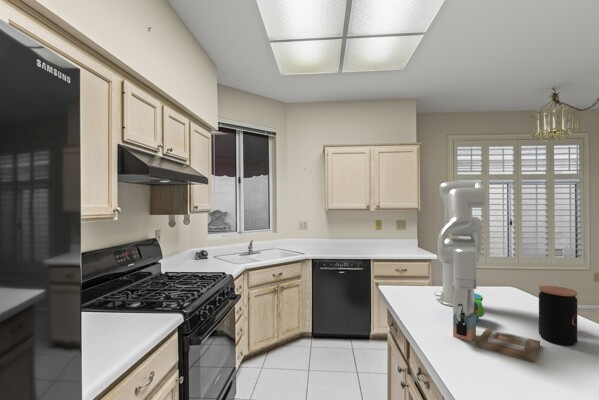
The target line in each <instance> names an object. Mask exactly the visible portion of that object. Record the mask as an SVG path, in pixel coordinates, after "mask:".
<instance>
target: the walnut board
mask: <svg viewBox="0 0 599 400" xmlns="http://www.w3.org/2000/svg"><path fill="white" fill-rule="evenodd" d="M475 347H478V348H481V349H485V350H488V351H492V352H495V353H498V354H502V355H506V356H509V357H513V358H516V359H519V360H523V361H527V362H530V363H535V362H536V359H537V356H538V353H539V350H540V348H541V340H538V339H533V338H529V337H525V336H520V335H516V334H512V333H508V332H504V331H501V330H497V329H492V328H488V327H487V328H485V330H484V331H483V332H482V333H481V335H480V336H479V337H478V338H477V339H476V341H475Z"/></svg>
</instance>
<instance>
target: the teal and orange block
mask: <svg viewBox="0 0 599 400" xmlns="http://www.w3.org/2000/svg"><path fill="white" fill-rule="evenodd" d="M452 315H453V317H452V323H453V324H452V337H453V338H457V339H461V340H464V341H468V342H473V340H474V339H475V338H476V337H477V321H476V314H472V313H471V314H470V315H469V316H468V317H466V325H467V335H466V336H462V335H458V334H457V333H456V318H457V317H456V314H453V313H452ZM461 315H465V314H461ZM461 318H463V320H464V317H461Z"/></svg>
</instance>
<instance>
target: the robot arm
mask: <svg viewBox="0 0 599 400" xmlns="http://www.w3.org/2000/svg"><path fill="white" fill-rule="evenodd" d="M438 190H439V196H440V198H441V200H442V202H443V205H444V226H443V227H442V228H441V230H440V231H439V234H438V236H437V257H438V258H437V259H438V261H440V263H442V291H436V290H434V293H433V294H434V296H435V297H439V300H438V301H439V303H441V305H444V306H448V307H452V315H453V314H456V317H457V318H456V333H457V334H458V335H462V336H466V335H467V325H466V317H468V316H469V315H470V314H471V313H472V312H473V311H474V293H475V290H476V289H477V286H478V285H477V283H478V282H477V281H478V280H477V279H478V277H477V274H478V273H477V271H478V269H477V268H478V267H477V264H478V262H479V260H480V258H481V256H482V253H483V222H482V220H481V218H480V217H478V216H473V215H472V209H473V208H474V209H476V208H478V209H482V208H484V207H486V205H487V202H488V195H487V191H486V189H485V187H484V186H483V183H481V182H480V181H477V180H476V181H473V180H472V181H471V180H470V181H465V180H464V181H462V180H461V181H459V180H458V181H445V182H441V184H440V185H439V189H438ZM448 236H451V237H448ZM452 236H455V237H452ZM462 237H470V238H462ZM461 314H465V315H461ZM461 317H464V320H463V318H461Z"/></svg>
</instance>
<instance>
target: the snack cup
mask: <svg viewBox="0 0 599 400" xmlns="http://www.w3.org/2000/svg"><path fill="white" fill-rule="evenodd" d="M483 299H484V297H483V296H482V295H481V294H479V293H475V292H474V311H473V312H472V314H476V322H477V321H478V320H479V319H480V318H482V317H484V316H485V311H484V310H485V309H484V307H483V303H482V301H483Z"/></svg>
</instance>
